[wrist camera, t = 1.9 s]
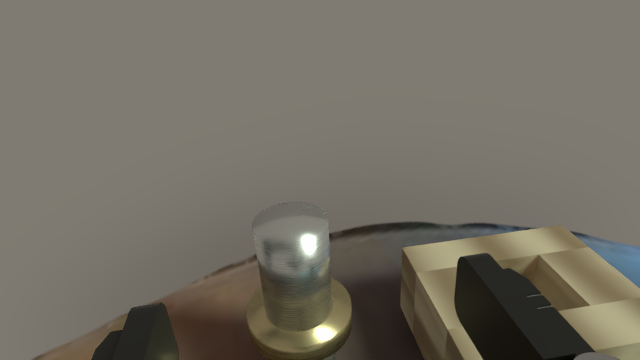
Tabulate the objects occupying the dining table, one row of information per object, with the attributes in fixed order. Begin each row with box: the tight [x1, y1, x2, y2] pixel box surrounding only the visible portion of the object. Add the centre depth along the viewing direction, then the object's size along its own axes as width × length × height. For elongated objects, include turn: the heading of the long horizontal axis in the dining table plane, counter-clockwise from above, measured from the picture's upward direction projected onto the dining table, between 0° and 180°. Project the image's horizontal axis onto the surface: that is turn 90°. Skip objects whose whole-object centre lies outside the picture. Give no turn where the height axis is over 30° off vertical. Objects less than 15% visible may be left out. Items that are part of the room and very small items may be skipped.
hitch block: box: [400, 225, 640, 360], centre depth 31 cm, size 14×12×6 cm
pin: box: [247, 202, 352, 360], centre depth 28 cm, size 7×7×14 cm
